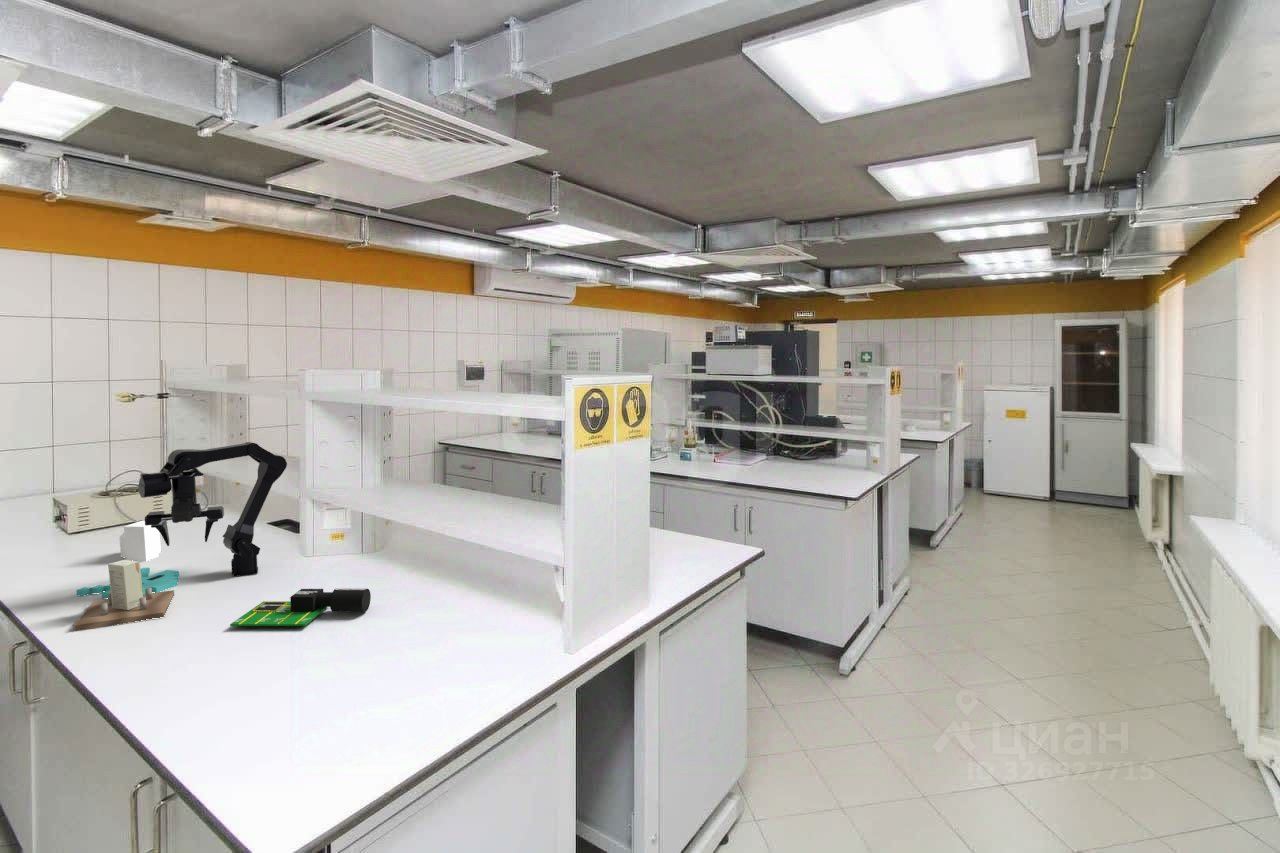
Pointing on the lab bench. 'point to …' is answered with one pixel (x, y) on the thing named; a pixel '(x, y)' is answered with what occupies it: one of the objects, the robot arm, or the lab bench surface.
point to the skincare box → (125, 584)
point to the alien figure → (154, 581)
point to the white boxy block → (140, 542)
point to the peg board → (124, 611)
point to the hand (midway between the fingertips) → (187, 543)
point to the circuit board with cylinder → (305, 607)
